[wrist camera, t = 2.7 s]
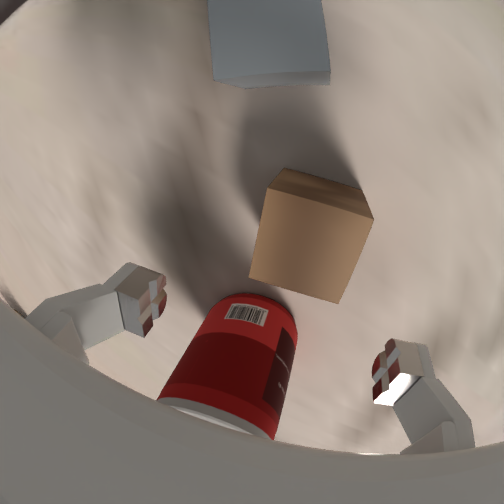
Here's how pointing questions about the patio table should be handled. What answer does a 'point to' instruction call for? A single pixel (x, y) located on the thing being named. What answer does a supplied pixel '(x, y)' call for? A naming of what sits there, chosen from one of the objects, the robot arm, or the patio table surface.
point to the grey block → (268, 43)
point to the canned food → (237, 366)
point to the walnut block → (310, 235)
